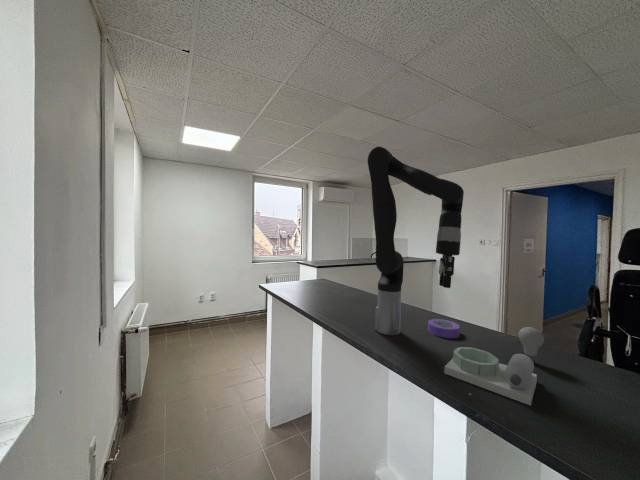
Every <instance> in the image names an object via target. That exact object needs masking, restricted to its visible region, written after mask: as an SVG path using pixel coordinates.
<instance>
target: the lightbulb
mask: <svg viewBox="0 0 640 480" xmlns="http://www.w3.org/2000/svg"><path fill="white" fill-rule="evenodd" d="M518 338H519V340H520V343H521V345H522V347H523V352H524V355H526V356H527V357H529V358H530V359H531V360H532V361H533V363H535V362H537V355H538V352H539V349H540V348H541V347H542V345H543V344H544V342H545V337H544V335H543V334H542V332H541V331H540V330H539V329H538V328H535V327H532V326H524V327H523V328H520V330H519V332H518Z"/></svg>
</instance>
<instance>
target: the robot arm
mask: <svg viewBox="0 0 640 480" xmlns="http://www.w3.org/2000/svg"><path fill="white" fill-rule="evenodd" d="M367 165H368V172H369V176H370V184H371V186H370V187H371V199H372V201H371V202H372V215H373V216H372V217H373V223H374V224H373V225H374V233H375V235H374V236H375V265H376V268H377V270H379V272H380V278H379V281H378V282H377V305H376V306H375V309H374V310H375V311H374V313H375V315H374V330H375V331H377V332H378V333H380V334H381V335H386V336H397V335H400V334H401V312H402V307H401V306H402V286H403V280H404V265H405V264H404V259H403V256H402V254H401V253H400V252H398V251H397V250H396V248H395V247H396V246H395V231H396V225H397V219H398V218H397V215H398V214H397V205H396V204H397V203H396V198H395V195H394V194H395V193H394V192H393V189H392V186H391V183H390V177H393V178H395V179H398V180H400V181H402V182H404V183H405V184H407V185H408V186H410V187H412V188H414V189H416V190H417V191H420V192H421V193H424V194H425V195H428V196H432V195H433V196H434V197H436V198H438V199H440V200H441V210H440V211H441V213H440V215H439V221H438V231H437V235H436V246H435V253H436V254H438V255H442V256H441V257H440V258H439V268H438V273H439V286H440V287H443V288H446V289H450V288H451V287H452V286H451V285H452V277H454V275H455V274H454V272H455V260H456V258H455V256H459V255H460V254H461V252H460V251H461V243H462V242H461V239H462V232H461V230H462V211H463V204H464V203H463V202H464V195H465V193H464V189H463V187H462V186H461V185H460V184H458V183H457V182H456V183H455V182H454V181H451V180H447V179H443V178H440V177H438V176H436V175H433V174H431V173H429V172H427V171H426V170H425V171H424V170H422V169H420V168H417V167H413V166H410V165H408V164H405V163H403V162H402V161H400V160H399V159H398V158H396V157H395V156H394V155H392V153H391V152H390V151H389V150H388V149H386V148H385V147H384V146H375V147H373V148H372V149H371V150H370V152H369V153H368V155H367Z"/></svg>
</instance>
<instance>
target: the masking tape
mask: <svg viewBox="0 0 640 480" xmlns="http://www.w3.org/2000/svg"><path fill="white" fill-rule="evenodd" d="M427 327H428V328H427V331H428V332H429V334H432V335H433V336H437V337H440V338H445V339H446V338H447V339H456V338H460V335H461V326H460V324H458V323H457V322H456V321H455V322H454V321H451V320H447V319H442V318H433V319H429V320H428V323H427Z"/></svg>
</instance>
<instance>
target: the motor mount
mask: <svg viewBox="0 0 640 480" xmlns="http://www.w3.org/2000/svg"><path fill="white" fill-rule="evenodd" d="M452 352H453V353H452V354H453V357H452V358H451V360H449V361H448V362H447V363H446V364H445V366H444V370H443V371H444V374H445V375H447V376H451V377H453V378H455V379H458V380H461V381H463V382H465V383H468V384H471V385H475V386H477V387H479V388H482V389H485V390H487V391H490V392H493V393H496V394H498V395H500V396H503V397H507V398H509V399H512V400H515V401H516V402H517V401H518V402H520V403H522V404H525V405H527V406H530V407H531V406H532V402H533V399H534V393H535V391H536V387H537V382H538V381H537V380H538V374H536V373H533V372H534V369H535V365H534V363H535V362H533V361H532V360H531V359H530V358H529V357H527V356H526V355H525V354H523V353H515V354H513V355H512V356H511V358H510V360H509V362H508V363H507V364H503V363H500V360H499V358H498V357H497V356H495V355H494V354H492V353H491V352H490V351H489V352H488V351H486V350H482V349H479V348H475V347H471V346H470V347H467V346H466V347H465V346H464V347H463V346H461V347H460V346H458V347H457V348H455V349H454V350H453V351H452Z"/></svg>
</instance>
